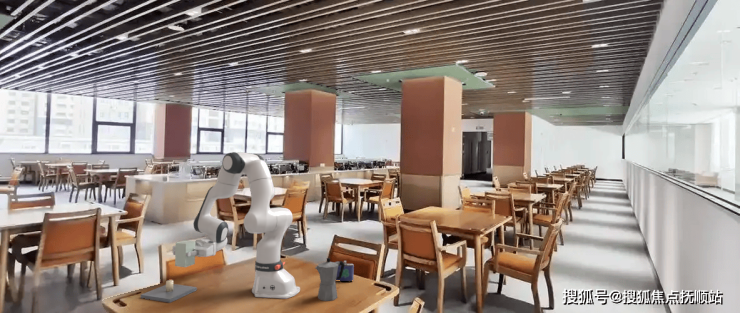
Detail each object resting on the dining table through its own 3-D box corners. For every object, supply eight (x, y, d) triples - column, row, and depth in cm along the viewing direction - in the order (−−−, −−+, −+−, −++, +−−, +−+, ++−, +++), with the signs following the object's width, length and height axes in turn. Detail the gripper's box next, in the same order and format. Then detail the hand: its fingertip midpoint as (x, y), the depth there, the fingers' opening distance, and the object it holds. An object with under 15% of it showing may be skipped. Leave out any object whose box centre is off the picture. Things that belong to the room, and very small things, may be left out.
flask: (353, 280, 196) (354, 260, 196) (353, 282, 193) (353, 261, 193) (336, 280, 196) (336, 259, 196) (335, 282, 193) (335, 261, 193)
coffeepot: (320, 303, 164) (321, 262, 164) (309, 297, 171) (310, 257, 171) (349, 296, 173) (350, 257, 173) (338, 290, 180) (339, 253, 181)
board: (196, 290, 176) (197, 277, 176) (170, 302, 161) (170, 288, 161) (169, 286, 181) (169, 274, 181) (140, 298, 165) (140, 284, 165)
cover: (194, 263, 182) (195, 241, 182) (185, 267, 176) (185, 243, 176) (184, 262, 184) (185, 240, 184) (175, 266, 178) (175, 242, 178)
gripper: (184, 239, 193) (163, 245, 180) (218, 242, 188) (198, 249, 174) (184, 251, 193) (162, 258, 180) (218, 255, 187) (198, 262, 174)
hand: (180, 253), depth 177 cm, fingers closed on cover, 6 cm apart
